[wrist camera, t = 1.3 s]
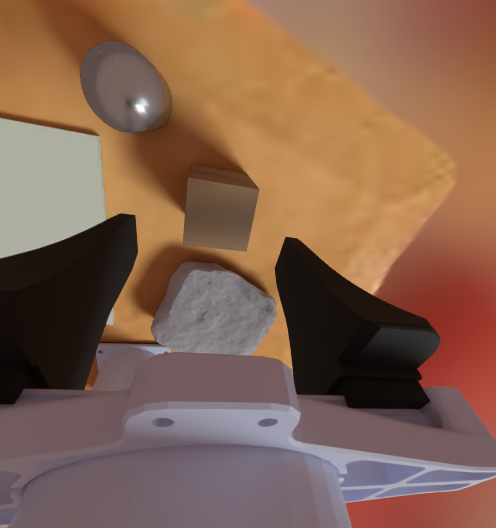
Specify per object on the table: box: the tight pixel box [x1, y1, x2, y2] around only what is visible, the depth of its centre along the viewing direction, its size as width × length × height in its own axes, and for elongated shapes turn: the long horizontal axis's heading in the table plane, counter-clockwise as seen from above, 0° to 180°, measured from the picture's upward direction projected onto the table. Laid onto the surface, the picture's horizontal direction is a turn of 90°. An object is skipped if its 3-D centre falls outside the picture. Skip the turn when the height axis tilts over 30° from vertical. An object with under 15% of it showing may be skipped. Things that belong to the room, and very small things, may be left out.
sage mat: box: [0, 117, 115, 325], centre depth 21 cm, size 18×10×1 cm, turn 169°
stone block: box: [151, 261, 277, 356], centre depth 27 cm, size 12×5×10 cm
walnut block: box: [183, 163, 259, 251], centre depth 19 cm, size 4×4×6 cm
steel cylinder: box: [81, 41, 172, 132], centre depth 15 cm, size 4×4×5 cm
